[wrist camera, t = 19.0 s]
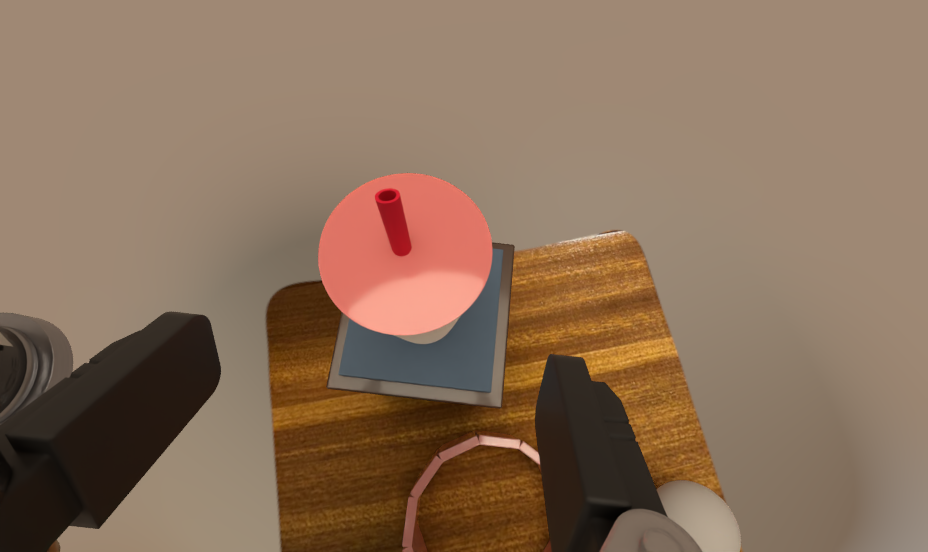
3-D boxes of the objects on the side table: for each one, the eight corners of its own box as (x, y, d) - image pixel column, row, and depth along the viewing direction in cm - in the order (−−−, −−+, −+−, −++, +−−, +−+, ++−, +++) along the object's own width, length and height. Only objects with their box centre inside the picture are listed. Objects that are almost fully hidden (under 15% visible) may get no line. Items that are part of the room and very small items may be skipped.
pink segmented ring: (400, 589, 33) (390, 628, 27) (422, 423, 37) (417, 427, 31) (556, 607, 33) (578, 649, 27) (561, 440, 37) (582, 446, 31)
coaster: (341, 375, 21) (337, 374, 20) (368, 239, 23) (366, 233, 22) (489, 392, 21) (491, 392, 20) (501, 254, 23) (503, 249, 22)
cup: (380, 257, 22) (305, 96, 10) (479, 268, 22) (512, 119, 10) (363, 358, 20) (250, 298, 9) (470, 369, 20) (496, 324, 9)
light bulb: (612, 463, 37) (669, 484, 27) (677, 470, 37) (757, 494, 27) (612, 537, 35) (674, 588, 25) (680, 545, 35) (768, 599, 25)
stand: (382, 395, 38) (325, 388, 21) (397, 301, 40) (358, 226, 23) (478, 406, 38) (502, 408, 20) (487, 311, 40) (514, 244, 23)
